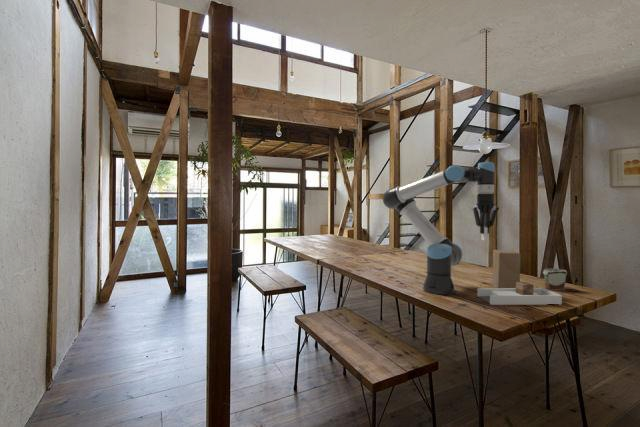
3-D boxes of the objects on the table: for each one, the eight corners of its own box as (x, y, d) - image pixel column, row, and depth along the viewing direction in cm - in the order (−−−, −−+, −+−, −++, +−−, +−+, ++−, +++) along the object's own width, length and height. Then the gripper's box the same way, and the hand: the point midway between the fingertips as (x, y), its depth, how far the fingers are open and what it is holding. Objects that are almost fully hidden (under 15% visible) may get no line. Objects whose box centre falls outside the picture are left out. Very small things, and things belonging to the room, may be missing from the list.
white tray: (490, 304, 142) (491, 295, 142) (477, 296, 154) (477, 288, 154) (561, 304, 143) (561, 295, 143) (542, 296, 155) (542, 288, 155)
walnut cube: (522, 295, 146) (522, 284, 146) (515, 292, 151) (515, 281, 151) (533, 295, 146) (533, 284, 146) (526, 292, 151) (526, 281, 151)
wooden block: (519, 292, 161) (521, 253, 160) (498, 291, 163) (499, 252, 162) (512, 287, 170) (513, 250, 170) (491, 286, 172) (492, 249, 172)
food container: (556, 286, 173) (556, 267, 173) (566, 289, 167) (567, 270, 167) (536, 287, 171) (537, 268, 171) (546, 290, 165) (547, 271, 165)
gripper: (476, 193, 156) (475, 241, 157) (502, 193, 156) (501, 241, 157) (469, 193, 164) (467, 239, 165) (494, 193, 164) (492, 239, 165)
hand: (484, 240), depth 161 cm, fingers closed
